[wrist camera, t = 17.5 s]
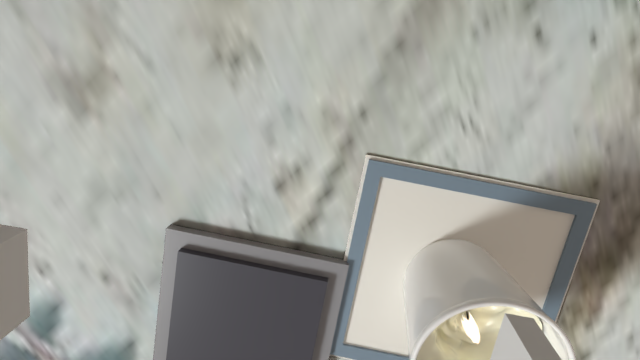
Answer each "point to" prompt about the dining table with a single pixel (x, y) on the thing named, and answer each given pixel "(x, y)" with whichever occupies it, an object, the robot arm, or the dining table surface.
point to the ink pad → (245, 299)
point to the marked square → (441, 224)
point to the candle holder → (465, 304)
